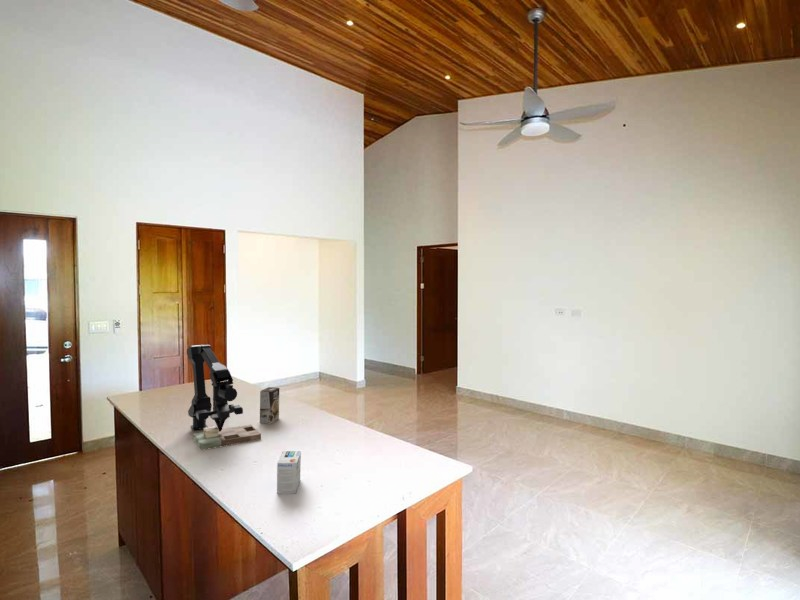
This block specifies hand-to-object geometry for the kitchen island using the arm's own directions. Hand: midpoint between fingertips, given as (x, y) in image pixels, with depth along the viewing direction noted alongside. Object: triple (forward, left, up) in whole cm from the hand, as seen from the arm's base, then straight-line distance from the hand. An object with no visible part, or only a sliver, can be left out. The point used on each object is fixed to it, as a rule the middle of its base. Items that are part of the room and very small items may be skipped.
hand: (219, 431), depth 200 cm
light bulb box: (+59, +9, -4) cm, 60 cm away
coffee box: (-15, +27, -4) cm, 31 cm away
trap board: (+2, +3, -4) cm, 5 cm away
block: (0, -4, -1) cm, 4 cm away
